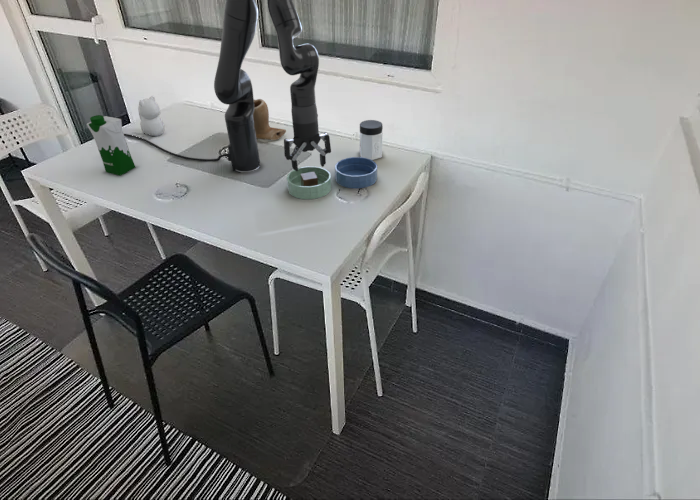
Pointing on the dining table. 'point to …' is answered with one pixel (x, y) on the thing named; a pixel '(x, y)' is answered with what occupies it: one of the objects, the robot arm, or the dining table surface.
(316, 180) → the walnut block
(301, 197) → the celadon bowl
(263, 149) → the dining table surface
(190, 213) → the dining table surface
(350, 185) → the blue bowl
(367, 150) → the jar
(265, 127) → the tan boot
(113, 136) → the milk carton
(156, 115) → the cat figurine
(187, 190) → the dining table surface
